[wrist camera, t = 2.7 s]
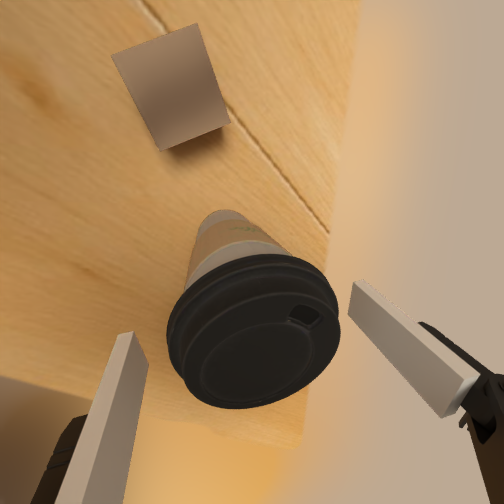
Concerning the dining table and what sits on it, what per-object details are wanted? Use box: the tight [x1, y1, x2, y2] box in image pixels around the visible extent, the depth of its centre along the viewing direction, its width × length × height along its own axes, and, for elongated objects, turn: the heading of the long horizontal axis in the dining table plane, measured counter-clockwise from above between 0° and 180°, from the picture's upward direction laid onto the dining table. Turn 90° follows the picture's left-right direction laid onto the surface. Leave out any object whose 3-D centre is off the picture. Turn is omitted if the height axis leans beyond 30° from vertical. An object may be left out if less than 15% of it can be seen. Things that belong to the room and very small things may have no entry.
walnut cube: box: [110, 23, 231, 151], centre depth 15 cm, size 5×5×5 cm
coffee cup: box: [166, 210, 341, 409], centre depth 17 cm, size 9×9×15 cm
